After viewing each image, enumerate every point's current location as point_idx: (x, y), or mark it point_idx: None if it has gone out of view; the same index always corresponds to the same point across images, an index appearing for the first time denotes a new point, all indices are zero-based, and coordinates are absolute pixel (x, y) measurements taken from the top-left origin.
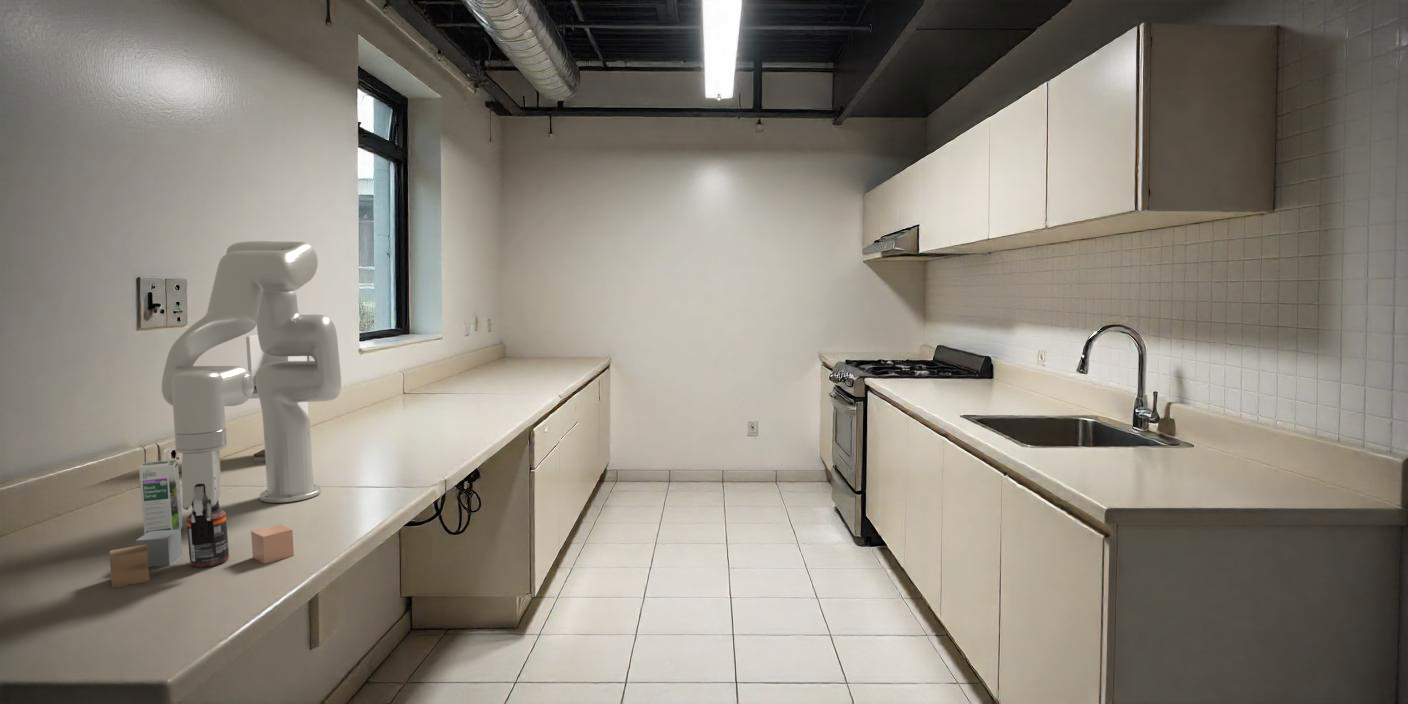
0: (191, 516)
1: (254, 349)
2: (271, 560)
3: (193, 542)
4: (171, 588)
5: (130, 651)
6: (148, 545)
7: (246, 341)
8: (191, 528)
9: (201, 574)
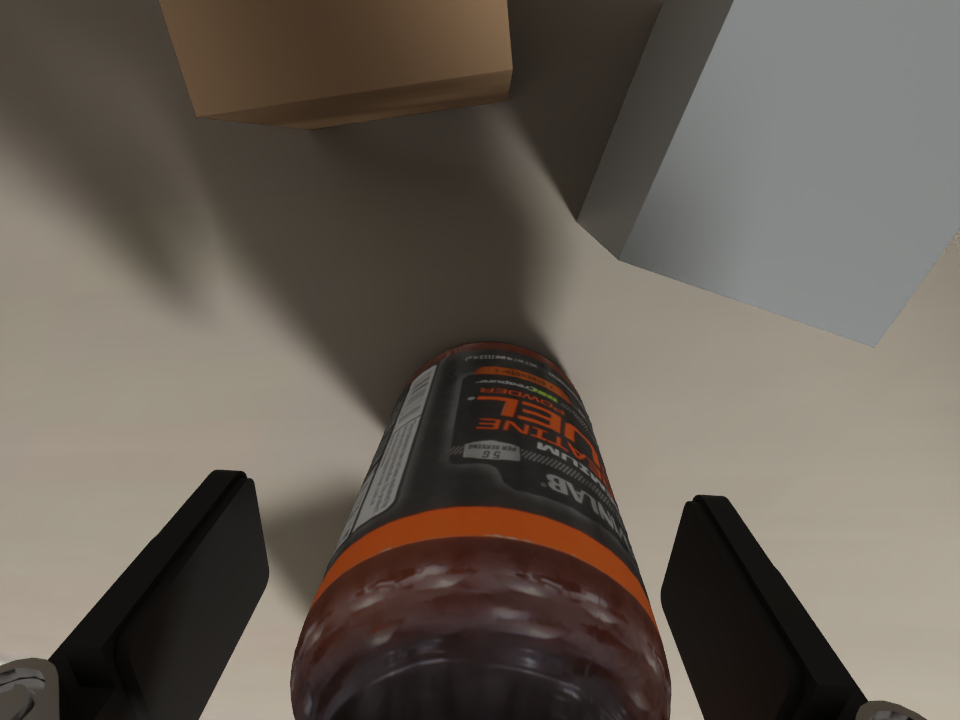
0: (389, 645)
1: None
2: None
3: (209, 486)
4: (121, 268)
5: None
6: (683, 71)
7: None
8: (115, 585)
9: (301, 392)
